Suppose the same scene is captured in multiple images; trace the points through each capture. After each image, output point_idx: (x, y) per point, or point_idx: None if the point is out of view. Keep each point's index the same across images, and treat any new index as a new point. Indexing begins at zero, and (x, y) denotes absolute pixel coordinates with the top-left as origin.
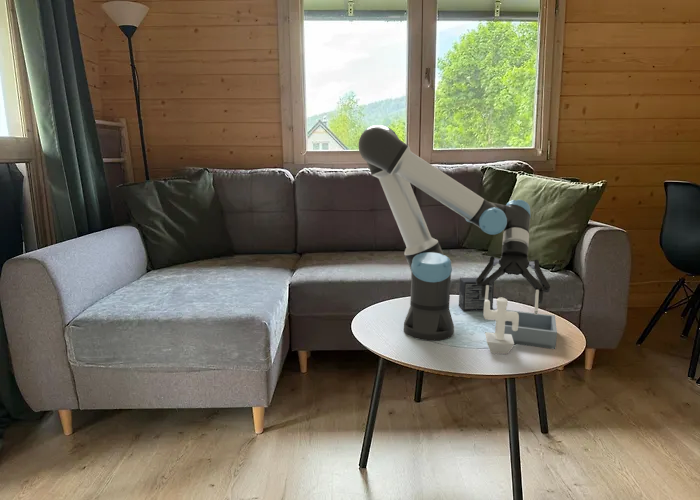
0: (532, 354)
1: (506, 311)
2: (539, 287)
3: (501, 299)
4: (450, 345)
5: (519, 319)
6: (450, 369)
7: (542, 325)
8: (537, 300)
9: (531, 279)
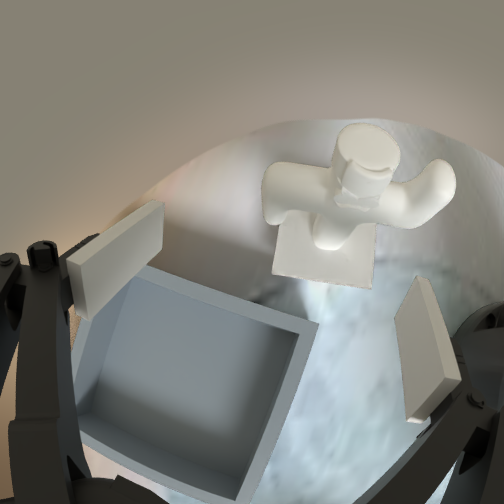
0: (218, 221)
1: (328, 175)
2: (48, 273)
3: (375, 148)
4: (455, 277)
5: (178, 465)
6: (446, 136)
7: (108, 426)
8: (120, 225)
9: (49, 340)
